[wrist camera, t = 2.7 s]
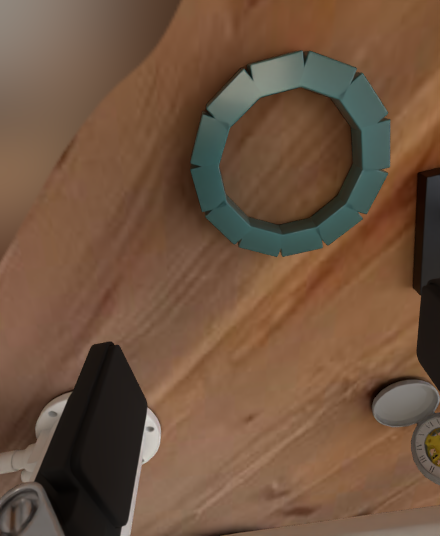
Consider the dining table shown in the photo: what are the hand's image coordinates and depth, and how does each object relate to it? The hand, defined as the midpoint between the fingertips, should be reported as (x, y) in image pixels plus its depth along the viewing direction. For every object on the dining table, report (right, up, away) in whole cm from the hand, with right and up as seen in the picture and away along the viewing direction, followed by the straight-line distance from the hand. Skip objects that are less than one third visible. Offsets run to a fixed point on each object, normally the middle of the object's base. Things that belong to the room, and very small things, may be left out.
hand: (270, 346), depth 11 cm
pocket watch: (+18, -12, +26) cm, 34 cm away
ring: (+3, +10, +13) cm, 17 cm away
